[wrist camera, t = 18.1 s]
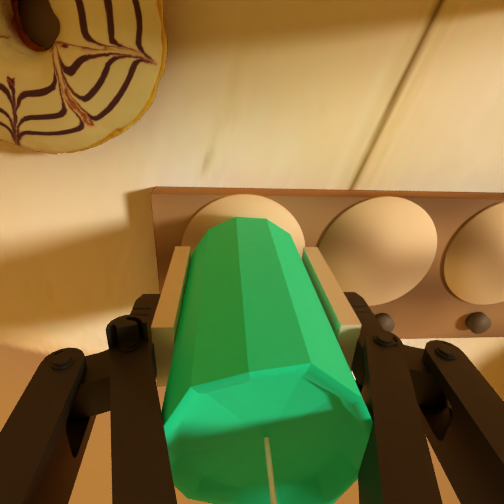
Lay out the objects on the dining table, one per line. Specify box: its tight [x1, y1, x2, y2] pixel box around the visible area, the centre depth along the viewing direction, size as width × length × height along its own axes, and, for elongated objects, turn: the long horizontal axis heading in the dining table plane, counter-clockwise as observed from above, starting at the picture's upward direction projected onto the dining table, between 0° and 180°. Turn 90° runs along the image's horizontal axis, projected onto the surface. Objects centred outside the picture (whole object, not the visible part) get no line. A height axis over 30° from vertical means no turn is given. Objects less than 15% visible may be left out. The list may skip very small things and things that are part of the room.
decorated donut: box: [0, 0, 167, 154], centre depth 14 cm, size 10×11×4 cm
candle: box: [161, 217, 373, 504], centre depth 13 cm, size 6×6×12 cm
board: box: [151, 187, 504, 339], centre depth 22 cm, size 10×26×2 cm, turn 88°
